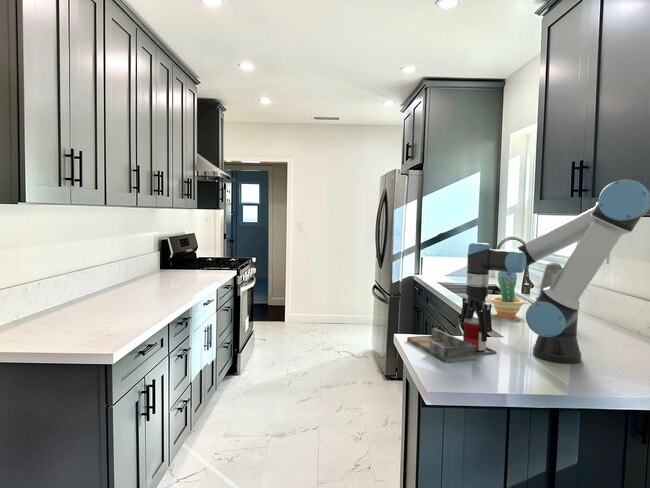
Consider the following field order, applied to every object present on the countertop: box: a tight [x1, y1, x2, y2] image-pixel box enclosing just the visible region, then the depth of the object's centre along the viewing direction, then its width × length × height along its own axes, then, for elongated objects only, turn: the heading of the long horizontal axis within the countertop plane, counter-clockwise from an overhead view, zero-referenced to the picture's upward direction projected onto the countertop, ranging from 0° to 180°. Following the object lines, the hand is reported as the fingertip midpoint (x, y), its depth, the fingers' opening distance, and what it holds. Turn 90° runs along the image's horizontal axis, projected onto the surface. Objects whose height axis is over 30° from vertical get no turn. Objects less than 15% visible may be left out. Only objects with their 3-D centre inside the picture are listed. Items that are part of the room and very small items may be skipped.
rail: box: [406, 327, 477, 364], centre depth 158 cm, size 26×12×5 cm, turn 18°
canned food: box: [462, 317, 486, 353], centre depth 159 cm, size 8×8×11 cm
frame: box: [476, 346, 497, 356], centre depth 159 cm, size 12×10×1 cm
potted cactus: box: [490, 271, 525, 319], centre depth 216 cm, size 15×15×25 cm
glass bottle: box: [539, 262, 563, 294], centre depth 207 cm, size 10×10×28 cm
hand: (474, 346), depth 159 cm, fingers closed on canned food, 8 cm apart
